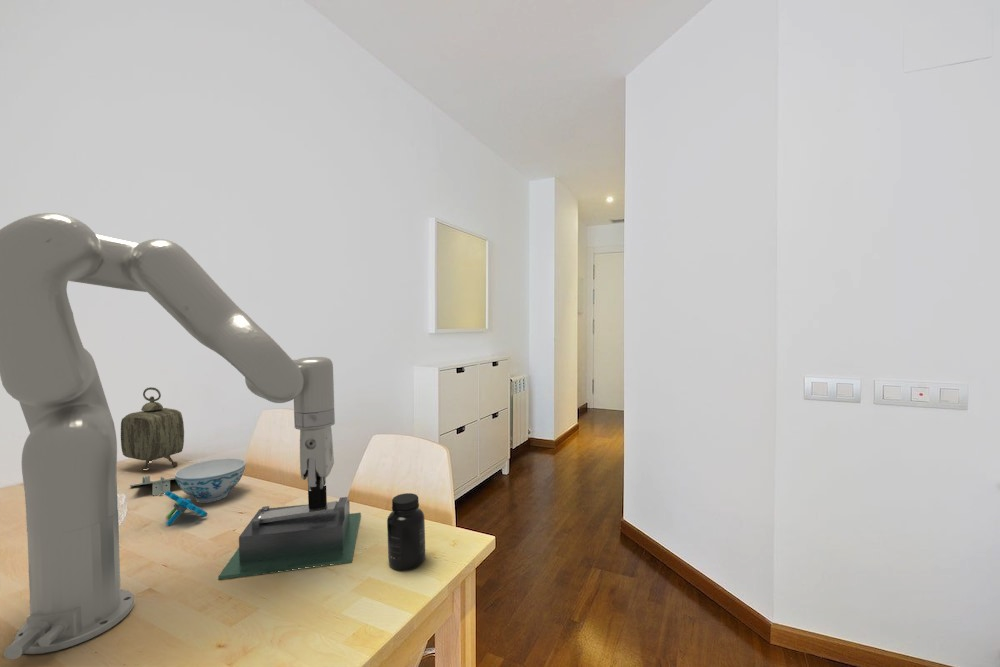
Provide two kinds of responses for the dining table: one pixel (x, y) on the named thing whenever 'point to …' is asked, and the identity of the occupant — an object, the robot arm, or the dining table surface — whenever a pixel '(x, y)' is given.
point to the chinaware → (210, 478)
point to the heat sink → (294, 542)
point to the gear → (181, 507)
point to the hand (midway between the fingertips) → (317, 506)
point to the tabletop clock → (152, 432)
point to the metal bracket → (157, 485)
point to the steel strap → (296, 512)
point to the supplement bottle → (406, 533)
